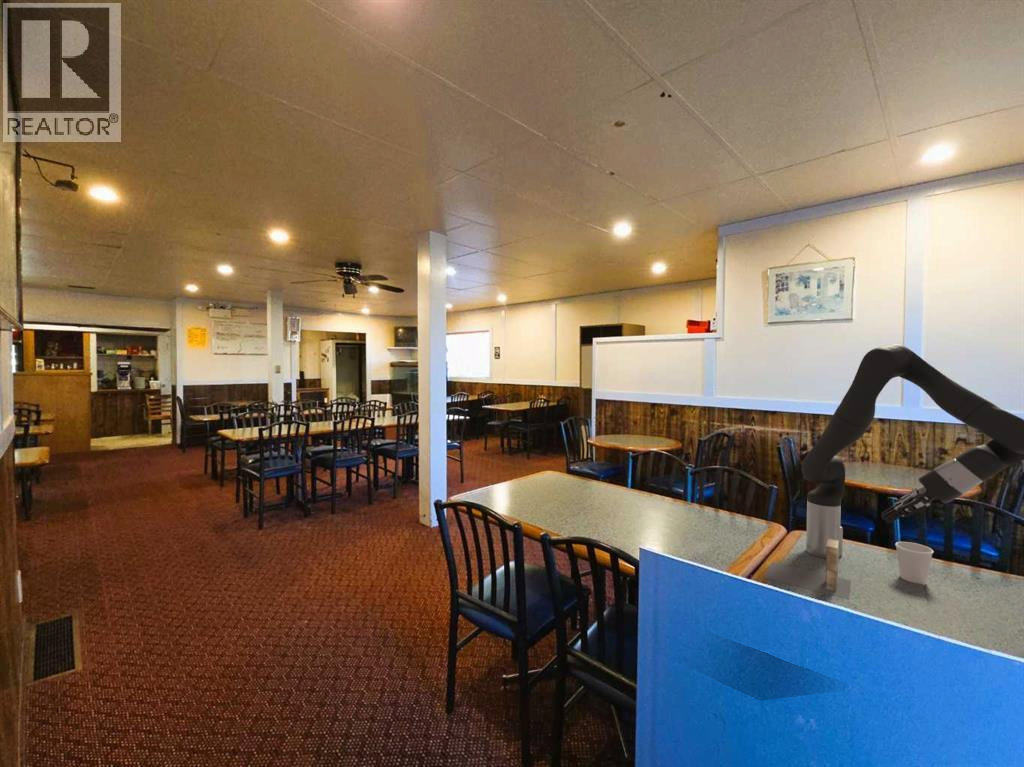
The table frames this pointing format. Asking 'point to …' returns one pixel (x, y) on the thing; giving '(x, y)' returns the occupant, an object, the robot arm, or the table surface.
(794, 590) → the table surface
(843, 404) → the robot arm
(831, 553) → the maple block
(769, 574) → the rubber mat
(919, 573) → the dixie cup
